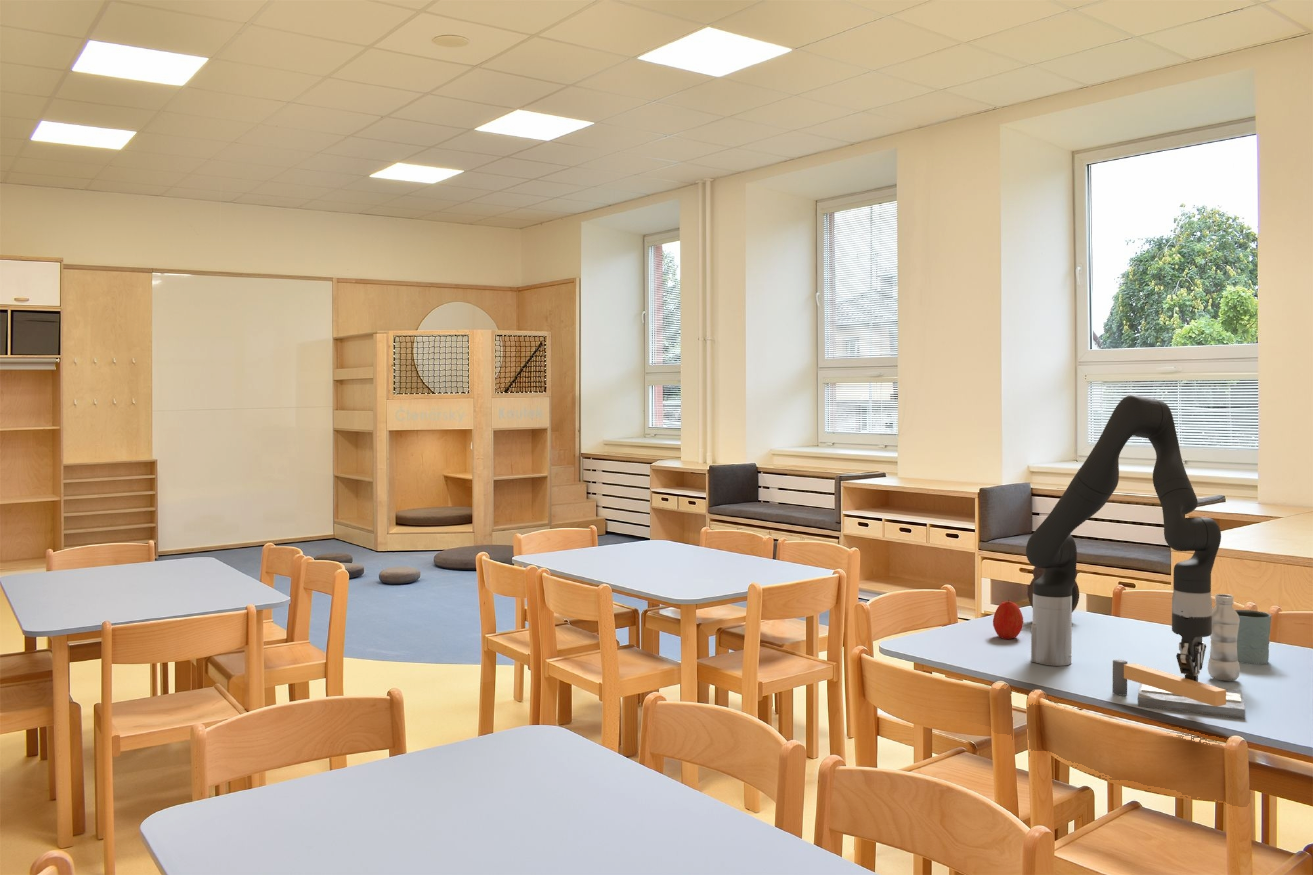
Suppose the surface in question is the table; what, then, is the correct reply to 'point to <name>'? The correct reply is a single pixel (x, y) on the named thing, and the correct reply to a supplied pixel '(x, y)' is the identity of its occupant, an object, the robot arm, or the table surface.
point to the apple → (1008, 620)
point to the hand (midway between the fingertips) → (1191, 692)
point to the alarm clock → (1038, 573)
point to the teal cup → (1253, 637)
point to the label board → (1191, 702)
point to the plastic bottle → (1224, 640)
